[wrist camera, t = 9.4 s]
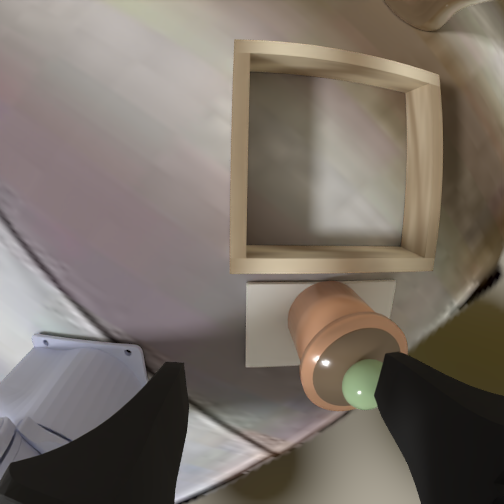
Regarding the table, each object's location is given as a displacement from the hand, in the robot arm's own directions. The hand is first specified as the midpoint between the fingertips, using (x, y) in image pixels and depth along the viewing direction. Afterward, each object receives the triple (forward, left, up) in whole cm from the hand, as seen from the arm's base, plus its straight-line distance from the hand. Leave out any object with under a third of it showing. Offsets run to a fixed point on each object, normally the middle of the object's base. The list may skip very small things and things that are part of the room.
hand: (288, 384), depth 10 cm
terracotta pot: (+4, -2, -9) cm, 10 cm away
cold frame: (+4, +8, -9) cm, 13 cm away
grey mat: (+4, -2, -9) cm, 11 cm away
